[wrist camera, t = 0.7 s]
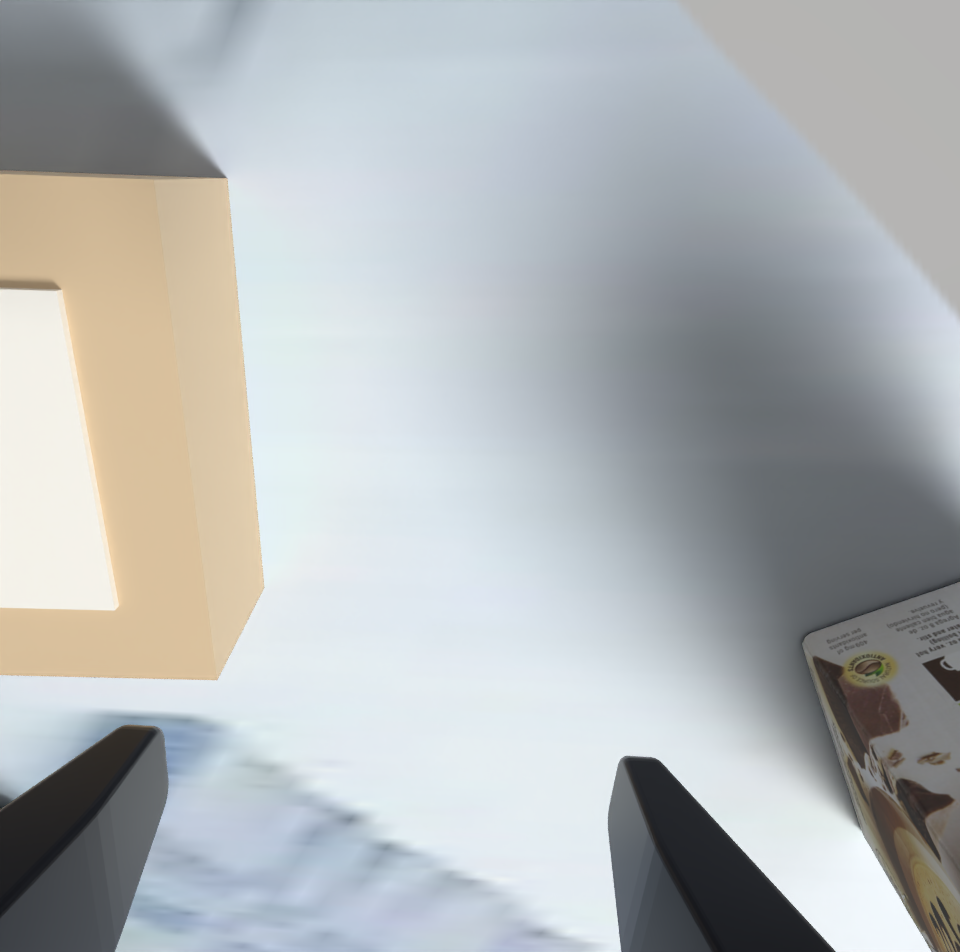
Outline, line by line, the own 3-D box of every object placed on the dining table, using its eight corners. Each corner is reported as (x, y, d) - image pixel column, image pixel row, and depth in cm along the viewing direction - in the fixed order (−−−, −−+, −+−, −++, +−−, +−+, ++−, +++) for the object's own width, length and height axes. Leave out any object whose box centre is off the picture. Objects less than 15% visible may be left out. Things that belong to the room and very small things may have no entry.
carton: (230, 178, 17) (149, 179, 13) (267, 582, 21) (214, 685, 17) (-156, 164, 17) (-370, 160, 13) (-43, 573, 21) (-176, 676, 17)
